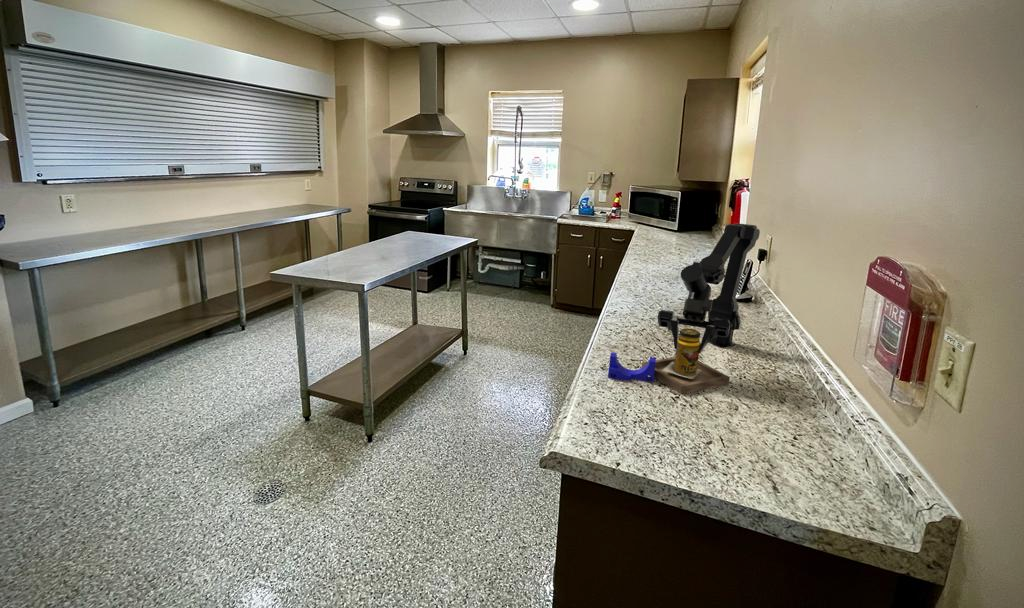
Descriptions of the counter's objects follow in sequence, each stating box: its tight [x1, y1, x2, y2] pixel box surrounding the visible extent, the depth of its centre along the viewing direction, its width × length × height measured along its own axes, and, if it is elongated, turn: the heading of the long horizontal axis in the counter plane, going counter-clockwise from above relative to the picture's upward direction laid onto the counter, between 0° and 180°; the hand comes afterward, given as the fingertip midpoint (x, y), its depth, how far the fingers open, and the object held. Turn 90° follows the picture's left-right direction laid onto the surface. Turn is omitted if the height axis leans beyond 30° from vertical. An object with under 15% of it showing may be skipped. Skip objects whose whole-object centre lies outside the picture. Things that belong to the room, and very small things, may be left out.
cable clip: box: [607, 352, 657, 383], centre depth 137 cm, size 12×4×6 cm, turn 74°
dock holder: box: [641, 356, 731, 395], centre depth 139 cm, size 16×16×2 cm
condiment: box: [662, 328, 701, 379], centre depth 138 cm, size 7×8×12 cm
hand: (687, 350), depth 136 cm, fingers closed on condiment, 6 cm apart
